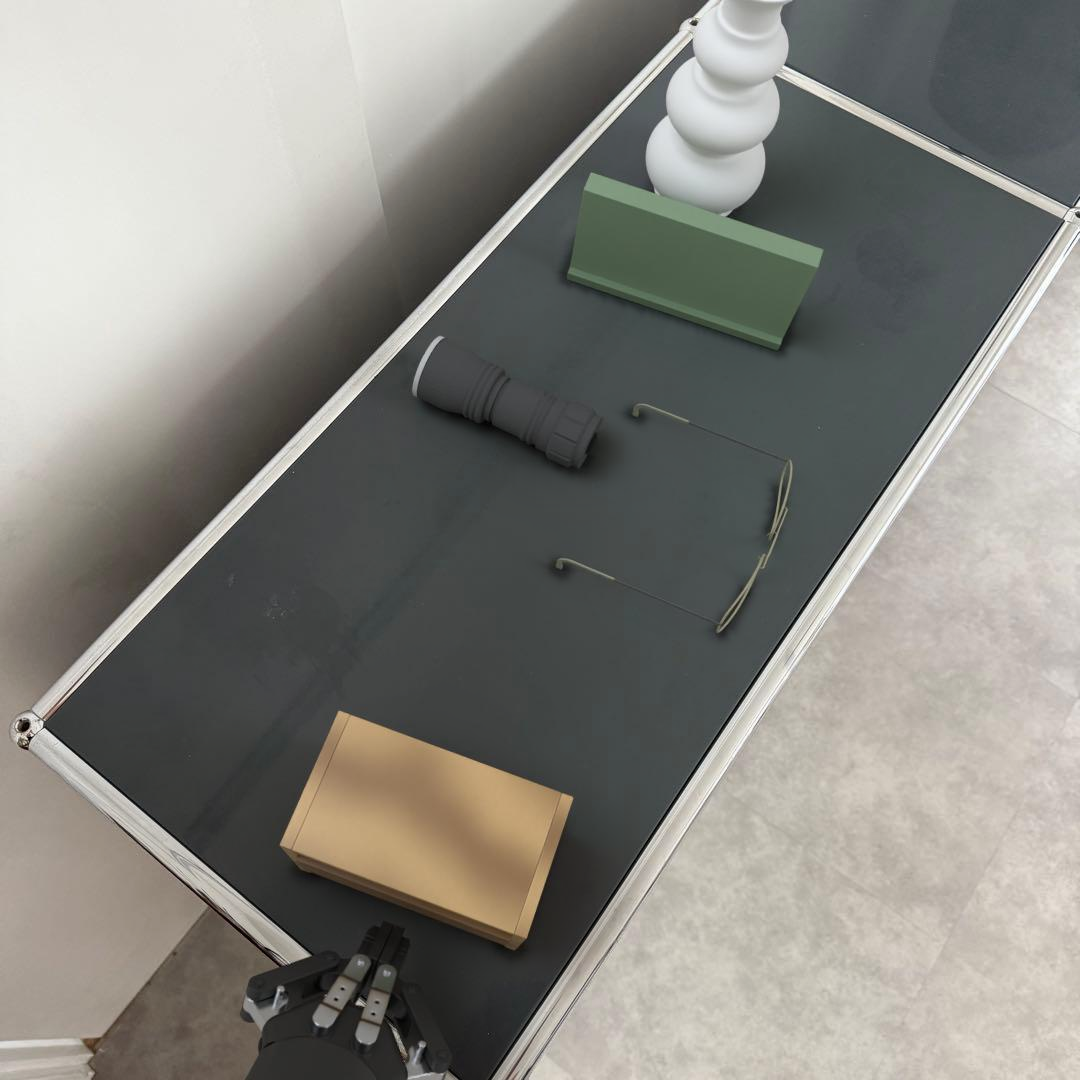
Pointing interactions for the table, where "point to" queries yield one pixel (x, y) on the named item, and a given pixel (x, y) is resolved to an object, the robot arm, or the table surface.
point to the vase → (721, 108)
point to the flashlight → (505, 402)
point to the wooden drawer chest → (427, 830)
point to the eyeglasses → (635, 413)
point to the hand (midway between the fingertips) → (391, 934)
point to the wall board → (690, 261)
